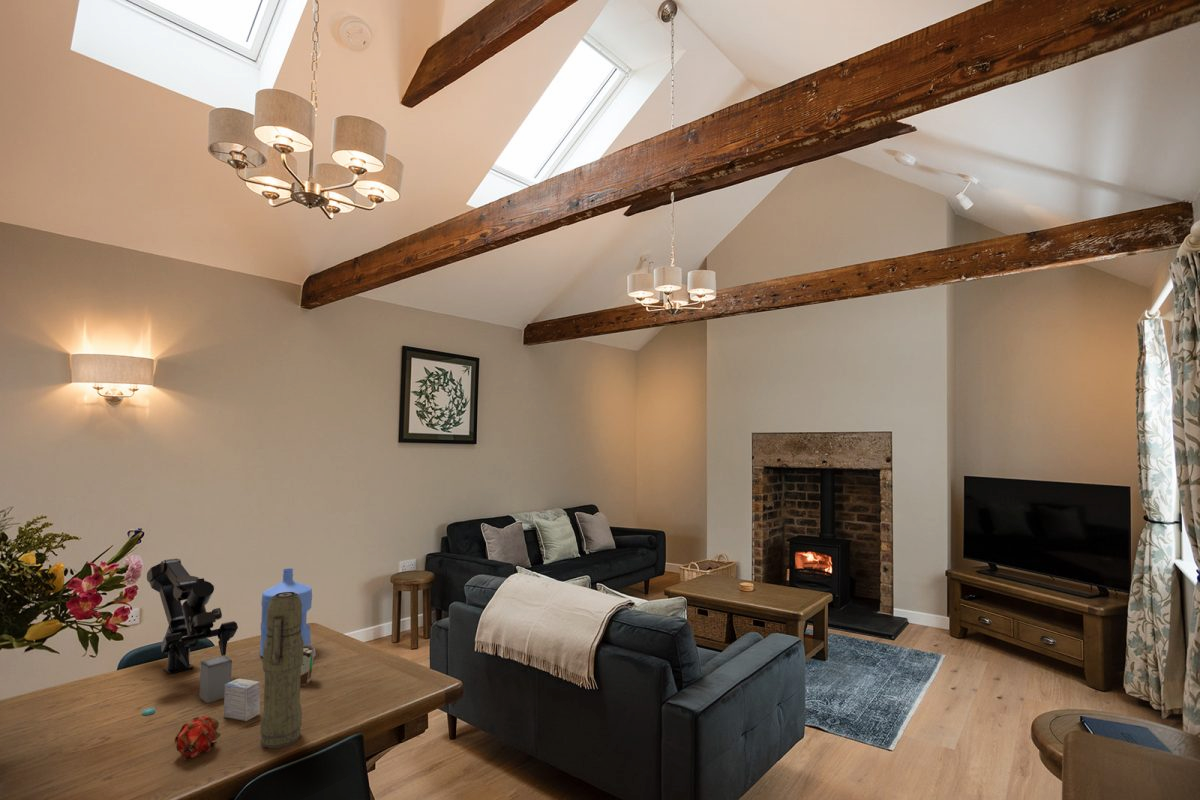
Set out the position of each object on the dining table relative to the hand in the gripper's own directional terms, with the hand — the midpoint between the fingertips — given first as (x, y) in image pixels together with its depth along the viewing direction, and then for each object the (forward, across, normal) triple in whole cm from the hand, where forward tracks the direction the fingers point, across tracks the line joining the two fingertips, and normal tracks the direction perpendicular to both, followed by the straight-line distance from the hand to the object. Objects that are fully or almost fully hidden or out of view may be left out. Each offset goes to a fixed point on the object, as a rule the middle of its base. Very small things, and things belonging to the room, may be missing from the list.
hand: (206, 661), depth 179 cm
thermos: (+39, +2, -29) cm, 48 cm away
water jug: (-4, +28, +16) cm, 33 cm away
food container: (+16, +20, -5) cm, 26 cm away
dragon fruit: (+34, -14, -23) cm, 43 cm away
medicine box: (+24, 0, -14) cm, 28 cm away
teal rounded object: (+10, -15, +2) cm, 18 cm away
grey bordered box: (+11, 0, 0) cm, 11 cm away
